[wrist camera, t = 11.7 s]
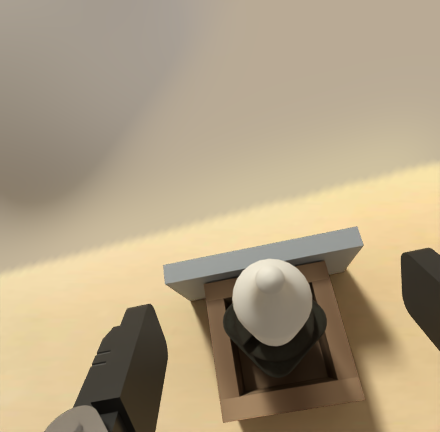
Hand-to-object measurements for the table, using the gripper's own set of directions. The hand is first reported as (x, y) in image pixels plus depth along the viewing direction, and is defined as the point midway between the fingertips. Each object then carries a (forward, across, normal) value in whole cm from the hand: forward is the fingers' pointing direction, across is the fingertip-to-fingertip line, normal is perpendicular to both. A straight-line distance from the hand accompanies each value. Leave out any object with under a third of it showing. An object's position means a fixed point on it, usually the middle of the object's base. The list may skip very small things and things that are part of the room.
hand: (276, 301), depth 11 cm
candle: (+17, 0, +16) cm, 23 cm away
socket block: (+17, 0, +17) cm, 25 cm away
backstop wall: (+22, 0, +13) cm, 25 cm away
